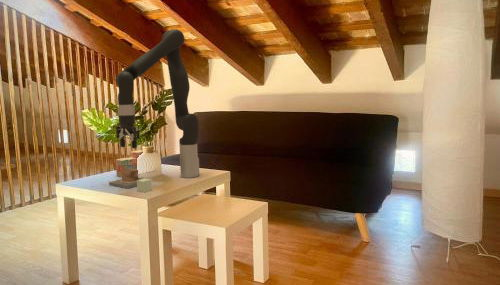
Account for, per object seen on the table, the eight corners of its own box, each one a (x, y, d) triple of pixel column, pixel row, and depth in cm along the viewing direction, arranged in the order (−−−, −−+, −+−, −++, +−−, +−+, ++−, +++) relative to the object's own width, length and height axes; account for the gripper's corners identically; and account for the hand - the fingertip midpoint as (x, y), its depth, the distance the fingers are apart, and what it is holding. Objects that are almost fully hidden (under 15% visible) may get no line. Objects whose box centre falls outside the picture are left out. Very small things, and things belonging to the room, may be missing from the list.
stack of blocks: (123, 178, 206) (121, 154, 205) (116, 176, 210) (115, 153, 209) (156, 171, 223) (155, 149, 221) (149, 169, 227) (148, 148, 225)
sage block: (144, 189, 182) (144, 178, 182) (151, 190, 180) (151, 179, 179) (137, 191, 179) (136, 180, 178) (143, 192, 176) (143, 181, 176)
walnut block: (131, 179, 196) (130, 169, 195) (138, 180, 193) (138, 170, 192) (122, 181, 191) (121, 171, 191) (129, 182, 188) (128, 172, 188)
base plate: (132, 179, 202) (132, 176, 202) (151, 182, 194) (151, 179, 194) (109, 185, 191) (109, 181, 190) (128, 188, 183) (127, 185, 183)
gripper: (142, 114, 187) (144, 147, 189) (123, 113, 195) (125, 145, 197) (129, 115, 181) (131, 149, 183) (110, 114, 189) (112, 147, 191)
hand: (128, 147), depth 190 cm, fingers open, 8 cm apart
